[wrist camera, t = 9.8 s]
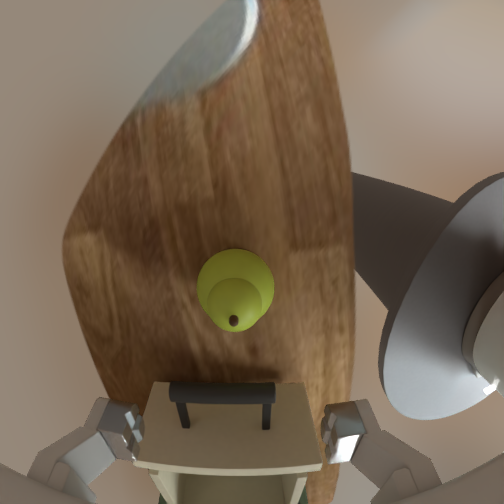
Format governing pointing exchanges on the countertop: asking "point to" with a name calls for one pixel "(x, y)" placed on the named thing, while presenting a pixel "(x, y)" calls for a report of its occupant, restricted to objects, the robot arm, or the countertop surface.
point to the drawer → (229, 442)
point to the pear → (235, 289)
